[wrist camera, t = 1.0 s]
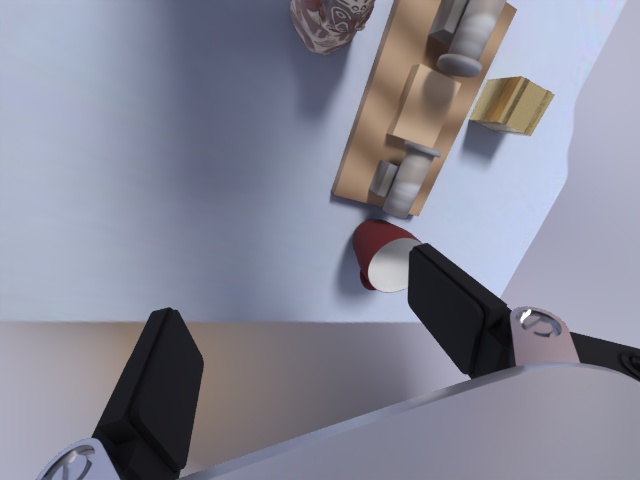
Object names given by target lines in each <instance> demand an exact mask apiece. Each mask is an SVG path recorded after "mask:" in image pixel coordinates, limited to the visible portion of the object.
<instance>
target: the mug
mask: <svg viewBox="0 0 640 480" xmlns="http://www.w3.org/2000/svg"><path fill="white" fill-rule="evenodd" d="M421 244H422V243H421V242H420V241H419V240H418V239H417V238H416V237H414V236H413V235H412V234H411V233H409V232H408V231H406V230H404V229H402V228H400V227H398V226H395V225H393V224H391V223H389V222H386V221H384V220H369V221H365V222H363V223H361V224H360V225H359V226H358V227H357V229H356V231H355V234H354V238H353V247H354V251H355V254H356V257H357V260H358V263H359V266H360V268H361V270H360V279H361V282H362V284H363V286H364V287H365V288H366V289H368V290H378V291H381V292H385V293H393V292H398V291H401V290H403V289H406V288H407V287H408V269H409V252H410V251H411V250H412V248H413V247H414V246H417V245H421Z"/></svg>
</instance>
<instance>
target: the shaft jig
mask: <svg viewBox="0 0 640 480" xmlns="http://www.w3.org/2000/svg"><path fill="white" fill-rule="evenodd" d="M516 11H517V9H516V8H514V7H513V6H511V5H510V4H508V3H507V2H506V0H394V3H393V6H392V9H391V12H390V15H389V18H388V21H387V24H386V27H385V30H384V33H383V36H382V39H381V42H380V45H379V48H378V51H377V54H376V57H375V60H374V63H373V66H372V69H371V72H370V75H369V78H368V81H367V84H366V87H365V90H364V93H363V96H362V99H361V102H360V105H359V108H358V111H357V114H356V118H355V121H354V124H353V127H352V130H351V133H350V136H349V139H348V142H347V145H346V148H345V151H344V154H343V157H342V160H341V163H340V166H339V169H338V172H337V175H336V178H335V181H334V184H333V187H332V190H331V192H332V193H333V194H334V195H336V196H340V197H344V198H348V199H352V200H356V201H360V202H364V203H368V204H372V205H376V206H380V207H383V209H382V210H383V211H384V212H386V213H388V214H390V215H392V216H394V217H397V218H401V219H406V218H407V216H408V214H411V215H415V216H419V214H420V212H421V210H422V208H423V206H424V204H425V201H426V199H427V197H428V195H429V193H430V191H431V189H432V187H433V185H434V183H435V181H436V178H437V176H438V174H439V172H440V170H441V168H442V166H443V164H444V162H445V160H446V157H447V155H448V153H449V151H450V149H451V147H452V145H453V143H454V141H455V139H456V136H457V134H458V132H459V130H460V128H461V126H462V124H463V122H464V120H465V118H466V116H467V113H468V111H469V109H470V107H471V105H472V103H473V101H474V99H475V97H476V95H477V92H478V90H479V88H480V86H481V84H482V82H483V80H484V78H485V76H486V74H487V72H488V69H489V67H490V65H491V63H492V61H493V59H494V57H495V55H496V53H497V51H498V48H499V46H500V44H501V42H502V40H503V38H504V36H505V34H506V32H507V30H508V27H509V25H510V23H511V21H512V19H513V17H514V15H515V13H516Z"/></svg>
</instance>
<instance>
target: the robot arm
mask: <svg viewBox="0 0 640 480" xmlns="http://www.w3.org/2000/svg"><path fill="white" fill-rule="evenodd" d="M408 304H409V306H410V308H411V309H412V310H413V312H414V313H415V314H416V315H417V317H418V318H419V319H420V320H421V322H422V323H423V324H424V325H425V327H426V328H427V329H428V331H429V332H430V333H431V334H432V335H433V337H434V338H435V339H436V341H437V342H438V343H439V344H440V346H441V347H442V348H443V349H444V351H445V352H446V353H447V355H448V356H449V357H450V358H451V360H452V361H453V362H454V363H455V365H456V366H457V367H458V368H459V370H460V371H461V372H462V373H463V374H468V375H469V377H470V378H471V380H468V381H465V382H462V383H458V384H455V385H453V386H449V387H446V388H443V389H440V390H437V391H434V392H431V393H428V394H425V395H422V396H419V397H416V398H413V399H410V400H407V401H404V402H401V403H398V404H395V405H392V406H389V407H386V408H383V409H380V410H377V411H374V412H371V413H368V414H365V415H362V416H359V417H356V418H353V419H350V420H347V421H344V422H341V423H338V424H335V425H333V426H329V427H326V428H323V429H320V430H318V431H314V432H312V433H309V434H306V435H303V436H300V437H297V438H294V439H291V440H288V441H286V442H282V443H279V444H276V445H273V446H271V447H268V448H265V449H262V450H259V451H256V452H253V453H250V454H247V455H244V456H241V457H238V458H236V459H233V460H230V461H227V462H224V463H221V464H218V465H216V466H212V467H210V468H207V469H204V470H202V471H199V472H196V473H193V474H190V475H188V476H185V477H182V478H179V475H180V470H181V469H184V467H185V465H186V462H187V457H188V452H189V446H190V440H191V435H192V429H193V424H194V418H195V412H196V406H197V401H198V395H199V390H200V384H201V378H202V373H203V367H204V362H203V358H202V355H201V353H200V352H199V350H198V348H197V346H196V344H195V342H194V340H193V338H192V336H191V334H190V333H189V331H188V329H187V327H186V325H185V323H184V321H183V319H182V317H181V315H180V313H179V312H178V310H173V309H172V308H170V307H168V308H164V309H160V310H156V311H153V312H152V313H151V314H150V317H149V319H148V321H147V323H146V325H145V327H144V329H143V331H142V334H141V336H140V338H139V340H138V342H137V344H136V346H135V348H134V350H133V353H132V354H131V357H130V358H129V360H128V362H127V364H126V366H125V368H124V370H123V372H122V374H121V376H120V378H119V381H118V383H117V385H116V387H115V389H114V391H113V393H112V395H111V398H110V399H109V401H108V403H107V406H106V408H105V410H104V412H103V414H102V416H101V418H100V420H99V422H98V424H97V427H96V429H95V431H94V433H93V435H92V437H91V438H87V439H83V440H80V441H78V442H76V443H74V444H71V445H70V446H69V447H67V448H66V449H64V450H63V451H61V452H60V453H59V454H58V455H56V456H55V457H54V459H52V460H51V461H50V462H49V463H48V464H47V465H46V466H45V468H44V469H43V470H42V471H41V472H40V474H39V475H38V477H37V478H36V480H640V349H638V348H634V347H630V346H626V345H622V344H618V343H614V342H610V341H606V340H602V339H597V338H593V337H589V336H585V335H581V334H577V333H573V332H569V329H568V328H567V326H566V324H565V323H564V322H563V321H562V320H561V319H560V318H558V317H557V316H555V315H554V314H552V313H550V312H548V311H545V310H543V309H539V308H535V307H527V306H526V307H518V308H516V309H514V310H513V311H512V310H510V309H509V308H508V307H507V304H506V303H504V302H503V301H502V300H501V299H499V298H498V297H497V296H496V295H494V294H493V293H492V292H490V291H489V290H488V289H486V288H485V287H484V286H483V285H481V284H480V283H479V282H477V281H476V280H475V279H474V278H472V277H471V276H470V275H468V274H467V273H466V272H465V271H463V270H462V269H461V268H459V267H458V266H457V265H456V264H454V263H453V262H452V261H450V260H449V259H448V258H447V257H445V256H444V255H443V254H441V253H440V252H439V251H437V250H436V249H435V248H434V247H432V246H431V245H430V244H428V243H425V244H421V245H417V246H414V247H413V248H412V250H411V251H410V252H409V269H408Z"/></svg>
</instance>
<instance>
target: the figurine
mask: <svg viewBox="0 0 640 480" xmlns="http://www.w3.org/2000/svg"><path fill="white" fill-rule="evenodd" d="M374 2H375V0H291V8H290V14H291V19H292V23H293V24H294V26H295V28H296V31H297V33H298V34H299V35H300V37H301V39H302V40H303V41H304V43H305V46H306V47H307V48H308V49H309V50H310V51H311V52H316V53H320V54H322V55H328V54H330V53H332V52H333V51H336V50H337V49H339V48H342V47H343V46H345V45H347V44H349V43H350V42H351V40H352V39H353V37H354V36H355V34H356V32H357V31H362V30H363V29H364V28H365V23H366V21H367V20H368V19H369V17H370V15H371V13H372V11H373V8H374Z"/></svg>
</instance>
